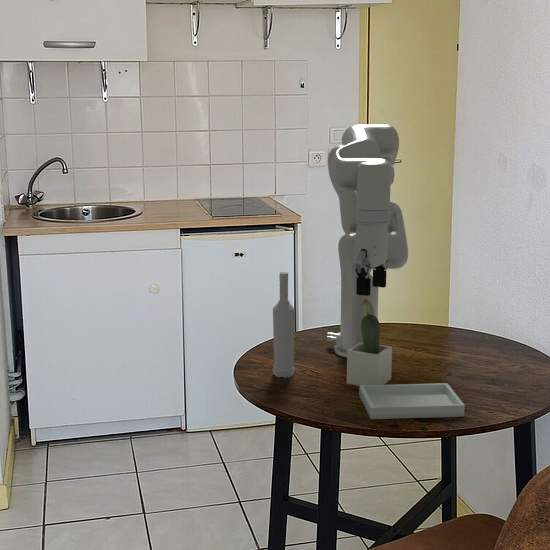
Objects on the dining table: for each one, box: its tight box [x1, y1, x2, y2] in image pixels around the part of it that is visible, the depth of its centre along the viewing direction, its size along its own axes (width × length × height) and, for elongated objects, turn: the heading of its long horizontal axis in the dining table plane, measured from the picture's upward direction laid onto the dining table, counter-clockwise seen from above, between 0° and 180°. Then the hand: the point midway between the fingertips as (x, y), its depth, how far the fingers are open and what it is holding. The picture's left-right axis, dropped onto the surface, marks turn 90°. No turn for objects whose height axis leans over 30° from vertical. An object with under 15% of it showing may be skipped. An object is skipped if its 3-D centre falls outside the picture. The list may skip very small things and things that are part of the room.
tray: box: [358, 382, 466, 420], centre depth 198 cm, size 20×14×2 cm
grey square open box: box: [346, 342, 393, 387], centre depth 213 cm, size 8×8×8 cm
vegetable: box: [361, 299, 381, 354], centre depth 212 cm, size 4×4×20 cm
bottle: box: [272, 271, 296, 379], centre depth 216 cm, size 5×5×25 cm
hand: (371, 290), depth 209 cm, fingers open, 9 cm apart
